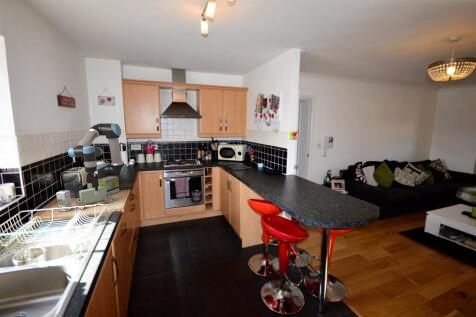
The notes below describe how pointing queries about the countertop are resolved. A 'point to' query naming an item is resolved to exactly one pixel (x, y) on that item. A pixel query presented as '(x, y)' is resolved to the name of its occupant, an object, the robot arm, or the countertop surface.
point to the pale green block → (92, 195)
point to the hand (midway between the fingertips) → (93, 192)
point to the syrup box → (63, 200)
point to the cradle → (107, 200)
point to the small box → (73, 188)
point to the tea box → (110, 184)
